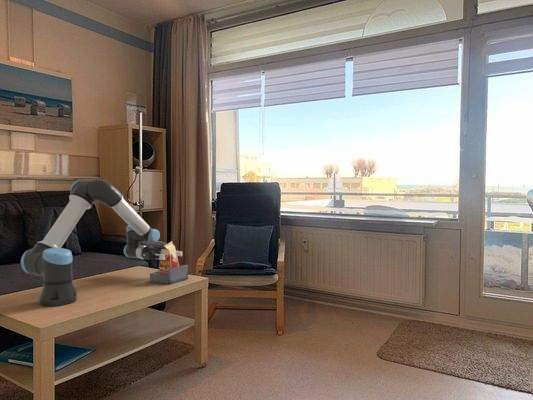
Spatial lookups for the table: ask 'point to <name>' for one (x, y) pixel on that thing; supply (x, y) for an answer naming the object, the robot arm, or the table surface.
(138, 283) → the table surface
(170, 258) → the milk carton
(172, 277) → the rack bay
